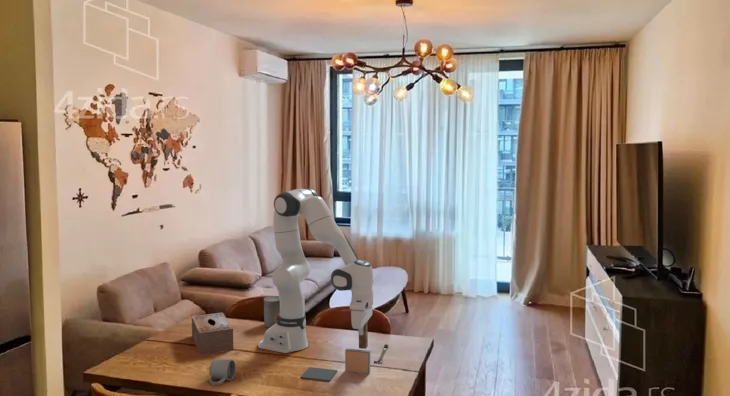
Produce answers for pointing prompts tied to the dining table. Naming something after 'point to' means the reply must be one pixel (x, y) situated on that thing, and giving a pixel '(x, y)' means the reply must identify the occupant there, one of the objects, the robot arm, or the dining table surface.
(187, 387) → the dining table surface
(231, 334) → the tissue box cover
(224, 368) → the ceramic mug
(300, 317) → the robot arm
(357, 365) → the tile
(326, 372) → the mat
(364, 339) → the wooden block
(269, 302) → the pillar candle
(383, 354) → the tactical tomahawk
